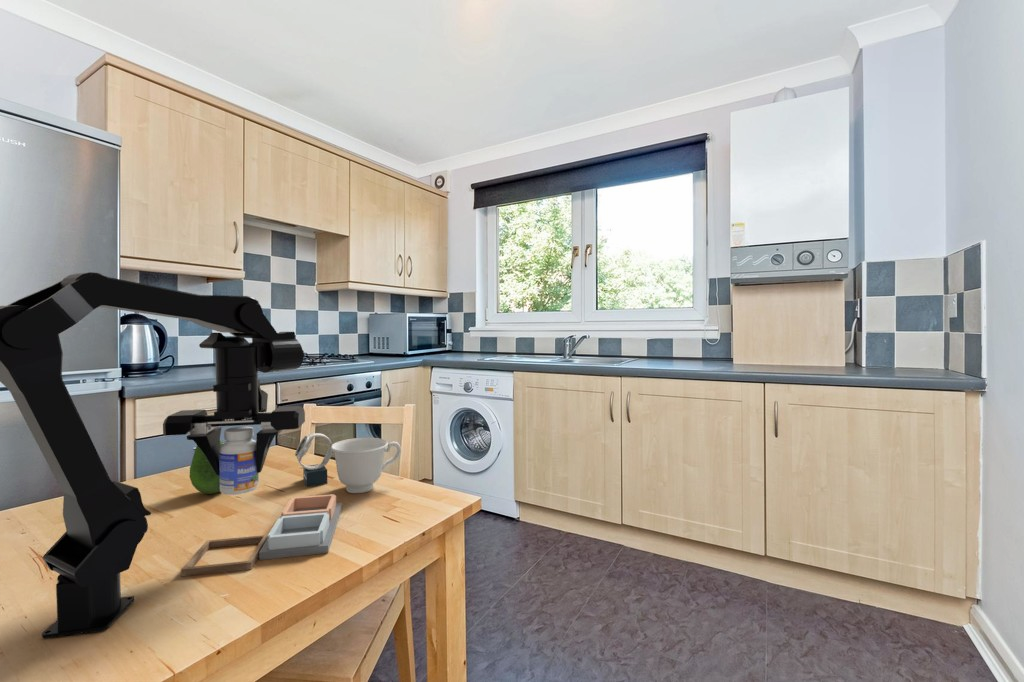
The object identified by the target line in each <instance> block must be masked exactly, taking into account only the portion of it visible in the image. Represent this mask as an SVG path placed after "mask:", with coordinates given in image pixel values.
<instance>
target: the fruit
mask: <svg viewBox="0 0 1024 682" xmlns="http://www.w3.org/2000/svg"><path fill="white" fill-rule="evenodd" d="M223 443H224V442H222V441H221V440H220V446H221V445H222V444H223ZM193 453H194V454H193V456H192V459H191V464H190V467H189V479H190V482H191V485H192V486H193V487H194V488H195V489H196V491H198V492H199V493H201V494H202V493H203V494H205V495H209V494H210V495H213V494H217V493H219V492H220V475H218V476H217V475H216V473H215V471H214V470H213V468H212V466H211V464H210V463H209V461H208V459H207V458H206V456H205V455H204V453H203V452H202V451H201V449H200V448H199V447H198V446H197V445H196V446H195V450H194V452H193ZM220 493H221V492H220Z"/></svg>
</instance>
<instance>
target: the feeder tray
mask: <svg viewBox="0 0 1024 682" xmlns="http://www.w3.org/2000/svg"><path fill="white" fill-rule="evenodd" d="M267 539H268V534H263V535H254V536H240V537H232V538H219V539H211V540H206V541H205V542H204V543H203V544H202V545H201V546H200V548H199V549H198V550H197V551H196V553H194V555H192V557H191V558H190V559H189V560H188V561H187V562H186V563H185V565H183V567H182V568H181V569H180V577H191V576H197V575H199V576H200V575H209V574H216V573H217V574H218V573H226V572H234V571H236V572H237V571H244V570H251V569H253V567H254V565H255V563H256V562H257V560H259V552H260V550H261V549H262V547H263V545H264V544H265V542H266V541H267ZM252 544H253V545H254V544H255V545H256V544H258V545H257V546H256V548H255V549H254V551H252V554H251V555H250V557H249V559H248V560H243V561H235V562H233V561H232V562H225V563H224V562H223V563H214V564H205V565H197V564H198V563H199V561H200V560H201V559H202V557H203V556H204V555H205V554H206V553H207V552H208V551H209V549H210V548H211V549H212V548H222V547H223V548H224V547H225V548H226V547H233V546H243V545H252Z"/></svg>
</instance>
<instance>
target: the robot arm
mask: <svg viewBox="0 0 1024 682" xmlns="http://www.w3.org/2000/svg"><path fill="white" fill-rule="evenodd" d="M97 308H104V309H112V310H119V311H126V312H131V313H139V314H147V315H153V316H160V317H166V318H172V319H179V320H185V321H189V322H191V323H192V324H196V325H197V326H200V327H202V328H206V329H210V330H212V331H216V332H211V333H210V334H209V335H208V337H206V339H204V340H203V341H202V342H200V343H199V345H198V346H199V348H201V349H213V350H214V352H215V353H214V355H215V357H214V359H215V361H214V362H215V363H214V364H215V384H213V386H212V387H213V388H212V389H213V392H214V393H215V395H216V396H215V397H216V398H215V399H216V411H214V412H213V414H208V412H207V411H206V409H187V410H186V409H184V410H183V409H182V410H179V411H176V412H174V413H172V414H169V415H167V416H166V418H165V419H163V423H162V435H163V436H165V437H166V436H167V437H168V436H181V435H182V436H184V435H187V434H188V435H187V436H186V440H188V441H193V442H194V443H195V444H196V447H197V446H198V447H199V448H200V449H201V451H202V452H203V453H204V455H205V456H206V458H207V459H208V461H209V463H210V464H211V466H212V468H213V470H214V471H215V473H216V475H217V476H218V475H220V470H219V449H220V441H221V433H222V427H230V426H231V427H239V426H254V425H255V426H258V425H260V427H261V430H259V431H257V433H256V438H255V439H256V440H255V441H256V468H257V473H259V474H260V473H261V472H262V470H263V468H264V464H265V462H266V460H267V459H266V458H267V455H268V453H269V451H270V448H271V444H272V442H273V440H274V438H275V436H278V435H279V434H280V433H281V432H283V430H286V431H287V430H297V429H299V428H301V426H302V425H303V424H304V423H305V422H306V413H305V409H304V408H303V407H302V406H301V405H292V406H291V405H290V406H289V405H287V406H278V407H277V408H275V409H273V410H272V411H271V412H268V411H267V410H268V401H269V400H268V399H269V397H268V396H269V394H268V393H267V392H266V391H264V389H262V388H261V383H260V379H259V378H258V377H259V374H258V373H259V371H260V372H261V373H265V374H266V373H274V372H284V371H286V372H287V371H295V370H298V369H299V368H300V367H301V366H302V364H303V362H304V358H305V351H304V350H303V347H302V345H301V343H300V341H299V340H298V339H296V332H295V331H279V332H277V330H276V329H275V327H274V326H273V325H272V323H271V322H270V321H269V319H268V318H267V316H266V315H265V314H264V312H263V308H262V306H261V304H260V303H259V300H258V299H256V298H255V297H252V296H249V295H225V294H224V295H222V294H219V295H218V294H216V295H209V294H206V295H205V294H197V293H192V292H186V291H181V290H176V289H172V288H167V287H166V288H165V287H163V286H162V287H161V286H156V285H151V284H145V283H140V282H136V281H130V280H125V279H120V278H116V277H111V276H110V277H109V276H106V275H105V274H103V273H100V272H91V271H89V272H79V273H73V274H69V275H67V276H66V277H64V278H63V279H61V280H60V281H58V282H56V283H54V284H52V285H49V286H47V287H45V288H42V289H40V290H38V291H36V292H34V293H31V294H29V295H26V296H24V297H21V298H19V299H17V300H15V301H13V302H11V303H9V304H7V305H0V383H1V384H3V385H4V387H5V388H6V389H7V390H8V391H9V393H10V394H11V396H12V398H13V400H14V403H16V407H17V408H18V410H19V411H20V413H21V414H20V415H22V418H23V419H24V421H25V423H26V425H27V427H28V429H29V431H30V432H31V434H32V437H33V438H34V440H35V443H36V444H37V446H38V447H39V450H40V452H41V453H42V456H43V457H44V459H45V462H46V463H47V465H48V467H49V470H50V471H51V472H52V474H53V476H54V478H55V480H56V483H57V484H58V486H59V489H60V490H61V492H62V496H63V503H62V506H63V507H62V517H63V522H64V525H65V530H66V531H65V532H64V533H63V534H62V535H61V536H60V537H59V539H58V540H57V541H56V542H55V543H54V544H53V545H52V546H51V547H50V548H49V549H48V550H47V551H46V553H44V555H42V560H43V562H44V564H45V565H46V566H47V568H48V569H49V571H54V572H56V573H57V574H59V575H58V576H57V579H56V581H57V583H56V584H55V594H56V595H55V597H56V615H57V616H56V620H55V621H54V622H53V623H52V624H51V625H49V626H48V627H47V628H46V629H45V630H44V631H43V632H41V639H48V638H49V639H50V638H57V637H64V636H73V635H80V634H89V633H95V632H96V633H97V632H102V631H105V630H107V629H109V628H110V627H111V626H112V624H113V623H115V621H116V620H117V619H118V618H119V617H120V616H121V615H122V614H123V613H124V612H125V611H126V610H127V608H128V607H130V606H131V605H132V604H133V602H134V601H135V596H134V595H131V596H123V597H122V594H121V593H122V589H121V585H122V584H121V573H122V572H126V571H127V570H129V569H130V567H131V564H132V561H133V558H134V556H135V554H136V551H137V547H138V545H139V544H140V543H141V542H142V541H143V539H144V536H145V535H146V533H147V532H148V530H149V529H148V528H149V523H148V520H147V516H151V514H152V512H150V510H148V509H147V508H146V507H145V505H144V503H143V499H142V495H141V492H140V490H139V488H138V487H135V486H133V485H129V484H126V483H123V482H120V481H116V480H114V481H112V480H111V477H110V475H109V473H108V472H107V470H106V468H105V465H104V464H103V461H102V459H101V457H100V455H99V453H98V451H97V449H96V446H95V444H94V442H93V440H92V438H91V436H90V434H89V431H88V430H87V428H86V426H85V423H84V422H83V419H82V417H81V415H80V414H79V411H78V409H77V406H76V405H75V403H74V401H73V398H72V397H71V394H70V392H69V390H68V388H67V386H66V384H65V382H64V379H63V360H64V359H63V356H64V354H63V348H62V343H61V339H60V334H61V333H63V332H65V331H66V330H68V329H70V328H72V327H73V326H75V325H77V324H78V323H79V322H81V321H82V320H83V319H84V318H86V317H87V316H88V315H89V314H90V313H92V312H93V311H94V310H95V309H97ZM223 333H226V334H227V333H229V334H230V335H232V336H225V335H224V334H223ZM247 339H251V342H249V341H248V340H247Z"/></svg>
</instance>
